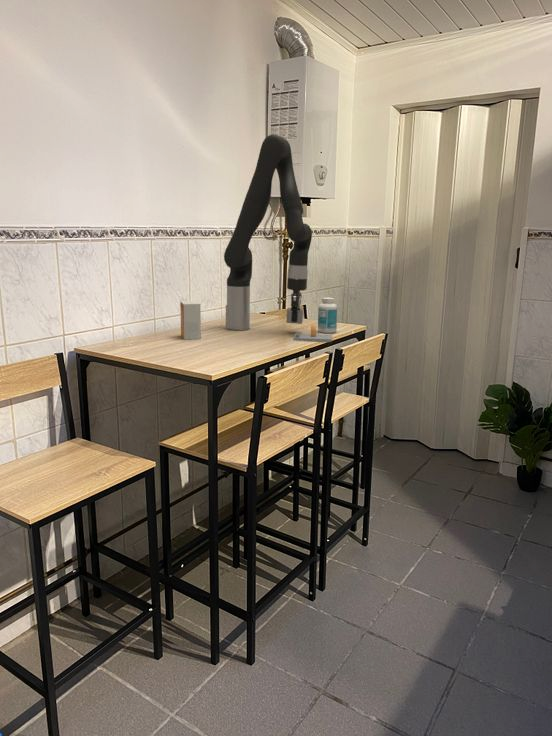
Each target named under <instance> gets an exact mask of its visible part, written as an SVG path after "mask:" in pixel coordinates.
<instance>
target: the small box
mask: <svg viewBox="0 0 552 736" xmlns="http://www.w3.org/2000/svg"><path fill="white" fill-rule="evenodd" d="M179 303H180V304H179V305H180V309H179V310H180V336H181V337H182V338H183V340H201V339H202V325H201V323H202V322H201V321H202V319H201V315H202V314H201V312H202V311H201V303H200V302H198V301H197V300H182V301H181V300H180V302H179Z"/></svg>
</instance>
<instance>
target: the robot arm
mask: <svg viewBox="0 0 552 736" xmlns="http://www.w3.org/2000/svg"><path fill="white" fill-rule="evenodd" d="M260 146H261V147H260V150H259V154H258V159H257V162H256V166H255V170H254V173H253V176H252V178H251V181H250V184H249V186H248V188H247V192H246V195H245V197H244V201H243V202H242V206H241V210H240V212H239V214H238V217H237V222H236V226H235V228H234V232H233V233H232V235H231V237H230V240H229V241H228V244H227V247H226V249H225V250H224V255H223V260H224V263H225V265H226V266H227V267H228V268H230V270H229V275H228V277H227V278H226V304H225V330H232V331H241V330H242V331H244V330H245V331H246V330H250V326H251V325H250V324H251V323H250V317H251V315H250V314H251V309H250V308H251V307H250V306H251V304H250V302H251V279H252V275H253V253H252V249H250V247H249V245H250V243H251V240H252V237H253V236H254V234H255V232H256V231H257V230H258V228H259V226H260V225H261V223H262V221H263V220H264V218H265V216H266V213H267V211H268V208H269V205H270V202H271V197H272V187H273V184H272V183H273V177H274V175H275V171H276V172H277V175H278V180H279V181H278V182H279V194H280V200H281V204H282V208H283V211H284V215H285V226H286V227H285V228H286V233H287V235H288V237H289V239H290V241H292V242H293V247H292V249H291V250H290V251H289V257H288V258H289V261H288V269H287V282H286V283H287V284H286V288H287V290H289V291H292V293H291V294H290V306H291V307H290V308H291V312H292V317H291V321H292V322H297V315H298V308H300V309H301V305H302V299H303V298H302V297H303V295H302V293H301V292H302V291H306V290H307V286H308V274H309V273H308V272H309V271H308V262H309V251H310V248H311V243H312V237H313V236H312V235H313V232H312V228H311V227H310V225H309V224H307V223H304V221H303V214H304V208H303V203H302V199H301V196H300V193H299V190H298V189H299V188H298V186H297V181H296V176H295V171H294V164H293V154H292V149H291V148H292V147H291V144H290V142H289V140H287V139H286V138H284V137H283V136H280V135H277V134H268V135H267V136H266V137H265V138H264V140H263V141H262V144H261V145H260Z"/></svg>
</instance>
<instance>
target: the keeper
mask: <svg viewBox="0 0 552 736" xmlns="http://www.w3.org/2000/svg"><path fill="white" fill-rule="evenodd" d="M293 340H299V342H301V341H300V340H304V341H303V342H318V343H319V342H321V343H323V342H324V343H332V342H333V335H332V334H324V333H323V334H320V333H318V334H317V325H315V324H313V325H310V333H301V332H300V331H296V333H294V336H293Z"/></svg>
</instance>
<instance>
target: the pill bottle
mask: <svg viewBox="0 0 552 736" xmlns="http://www.w3.org/2000/svg"><path fill="white" fill-rule="evenodd" d="M321 302H322V303H320V304H319V305H318V312H317V313H318V315H317V316H318V317H317V331H318V332H319V333H323V334H334V333H336V332H337V329H338V327H337V326H338V325H337V323H338V306H337V303H334V302H335V298H334V297H322V298H321Z"/></svg>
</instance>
